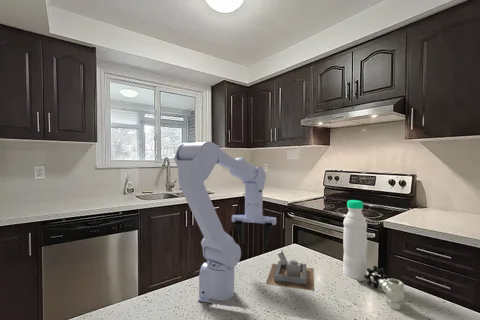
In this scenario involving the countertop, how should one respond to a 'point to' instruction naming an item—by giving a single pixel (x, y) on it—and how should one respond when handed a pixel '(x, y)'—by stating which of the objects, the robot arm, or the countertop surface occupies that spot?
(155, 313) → the countertop surface
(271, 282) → the walnut board
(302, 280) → the steel collar
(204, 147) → the robot arm
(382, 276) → the valve
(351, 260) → the water bottle
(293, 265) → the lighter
